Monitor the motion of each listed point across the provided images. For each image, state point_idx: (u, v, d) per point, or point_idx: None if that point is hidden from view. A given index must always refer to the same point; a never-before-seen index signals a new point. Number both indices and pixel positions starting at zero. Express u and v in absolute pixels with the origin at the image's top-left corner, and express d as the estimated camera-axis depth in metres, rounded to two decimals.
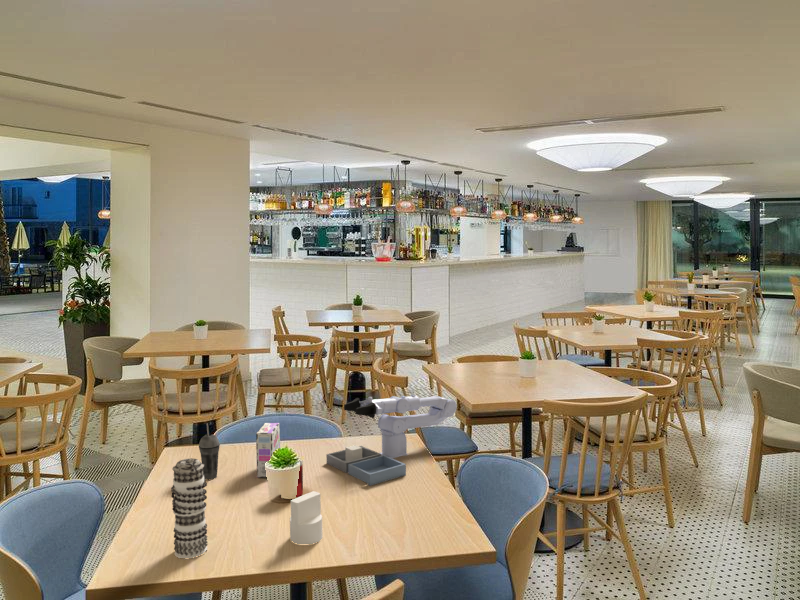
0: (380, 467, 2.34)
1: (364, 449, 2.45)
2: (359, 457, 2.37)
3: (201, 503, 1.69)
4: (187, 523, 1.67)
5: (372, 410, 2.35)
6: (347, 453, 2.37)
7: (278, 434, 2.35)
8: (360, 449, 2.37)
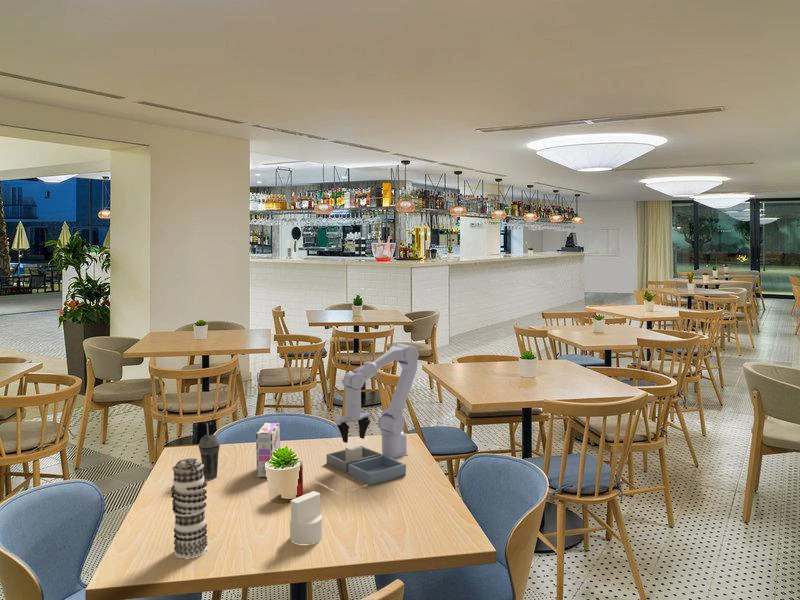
0: (380, 467, 2.34)
1: (364, 449, 2.45)
2: (359, 457, 2.37)
3: (201, 503, 1.69)
4: (187, 523, 1.67)
5: None
6: (347, 453, 2.37)
7: (278, 434, 2.35)
8: (360, 449, 2.37)
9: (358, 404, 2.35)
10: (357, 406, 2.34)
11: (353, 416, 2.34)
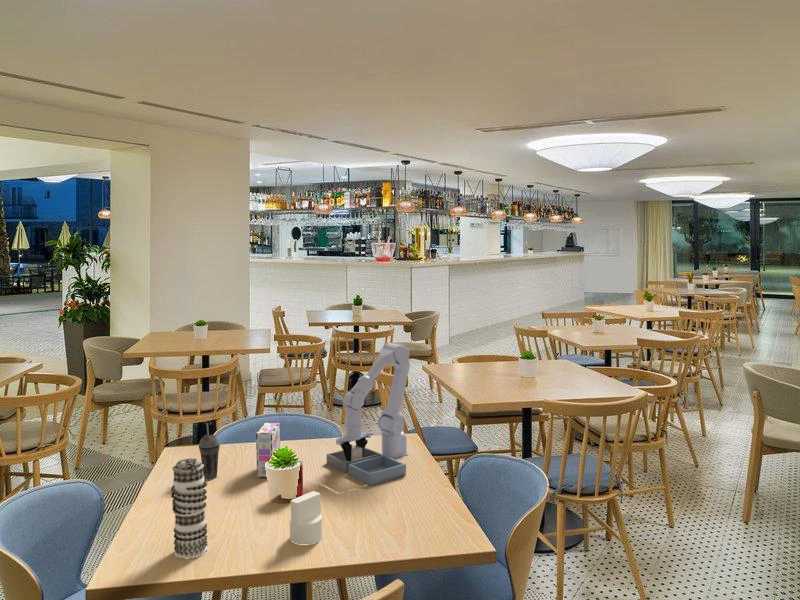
0: (380, 467, 2.34)
1: (364, 449, 2.45)
2: (359, 457, 2.37)
3: (201, 503, 1.69)
4: (187, 523, 1.67)
5: None
6: None
7: (278, 434, 2.35)
8: (360, 449, 2.37)
9: (358, 424, 2.35)
10: (357, 426, 2.35)
11: (353, 436, 2.35)
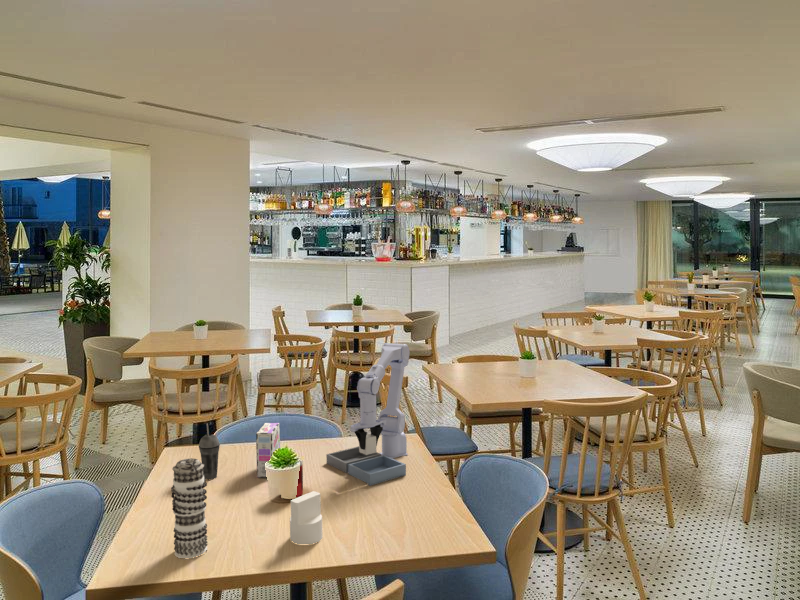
0: (380, 467, 2.34)
1: None
2: (373, 446, 2.30)
3: (201, 503, 1.69)
4: (187, 523, 1.67)
5: None
6: None
7: (278, 434, 2.35)
8: (374, 437, 2.30)
9: (375, 409, 2.29)
10: (372, 412, 2.27)
11: (368, 423, 2.27)
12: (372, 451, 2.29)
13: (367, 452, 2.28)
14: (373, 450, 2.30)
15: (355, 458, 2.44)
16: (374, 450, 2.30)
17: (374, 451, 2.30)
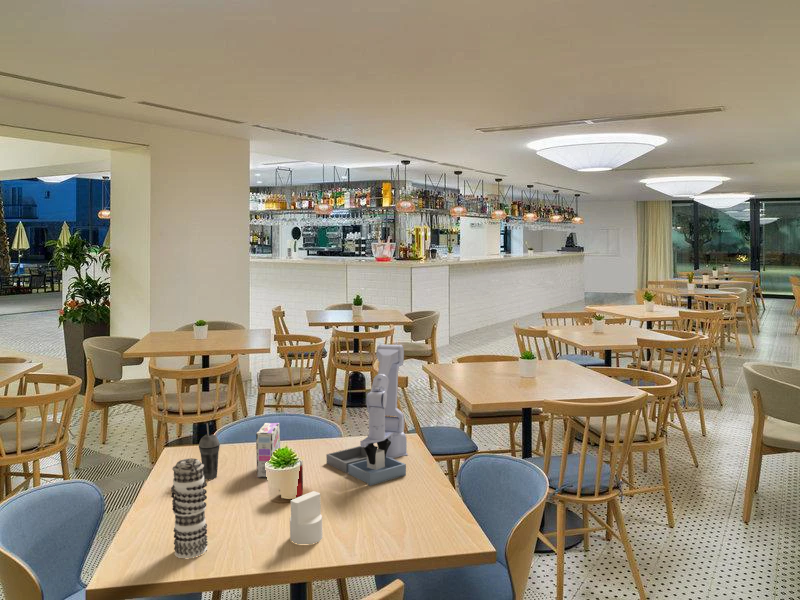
0: None
1: (364, 449, 2.45)
2: (382, 460, 2.27)
3: (201, 503, 1.69)
4: (187, 523, 1.67)
5: None
6: None
7: (278, 434, 2.35)
8: (382, 452, 2.27)
9: (384, 423, 2.26)
10: (382, 426, 2.24)
11: (378, 437, 2.23)
12: (381, 466, 2.26)
13: (377, 467, 2.25)
14: (382, 464, 2.27)
15: (355, 458, 2.44)
16: (383, 464, 2.27)
17: (383, 465, 2.27)
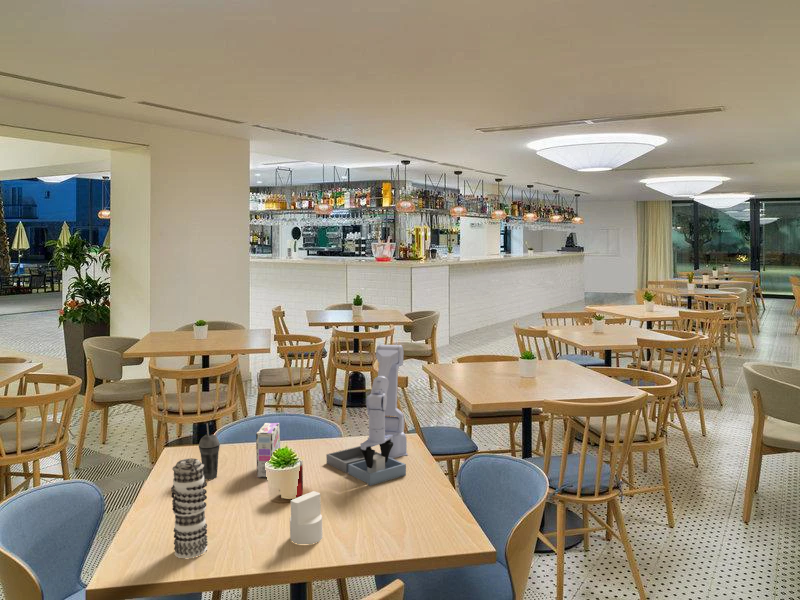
0: None
1: None
2: (382, 467, 2.27)
3: (201, 503, 1.69)
4: (187, 523, 1.67)
5: None
6: None
7: (278, 434, 2.35)
8: (383, 458, 2.27)
9: (384, 426, 2.26)
10: (382, 429, 2.24)
11: (378, 440, 2.23)
12: None
13: None
14: None
15: (355, 458, 2.44)
16: None
17: None
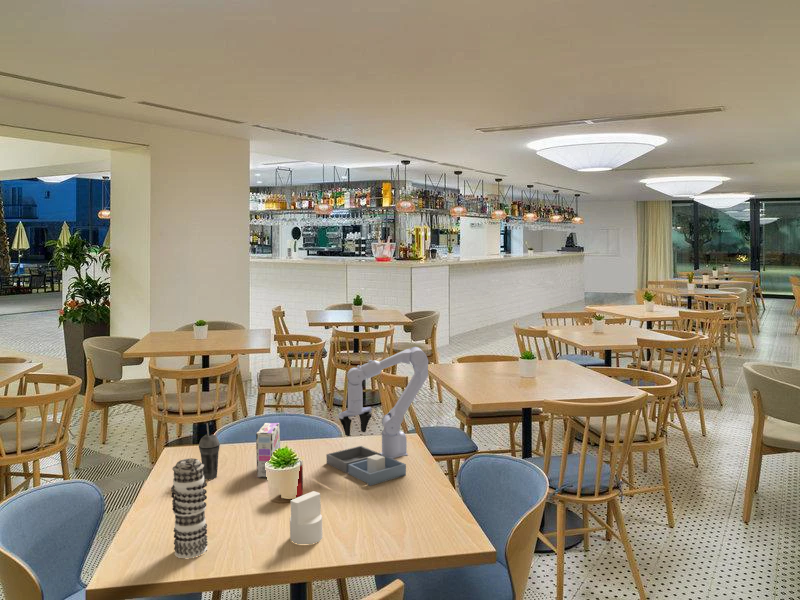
0: None
1: (364, 449, 2.45)
2: (382, 467, 2.27)
3: (201, 503, 1.69)
4: (187, 523, 1.67)
5: None
6: (370, 463, 2.26)
7: (278, 434, 2.35)
8: (383, 458, 2.27)
9: (357, 399, 2.42)
10: (359, 401, 2.43)
11: (355, 410, 2.42)
12: None
13: None
14: None
15: (355, 458, 2.44)
16: None
17: None
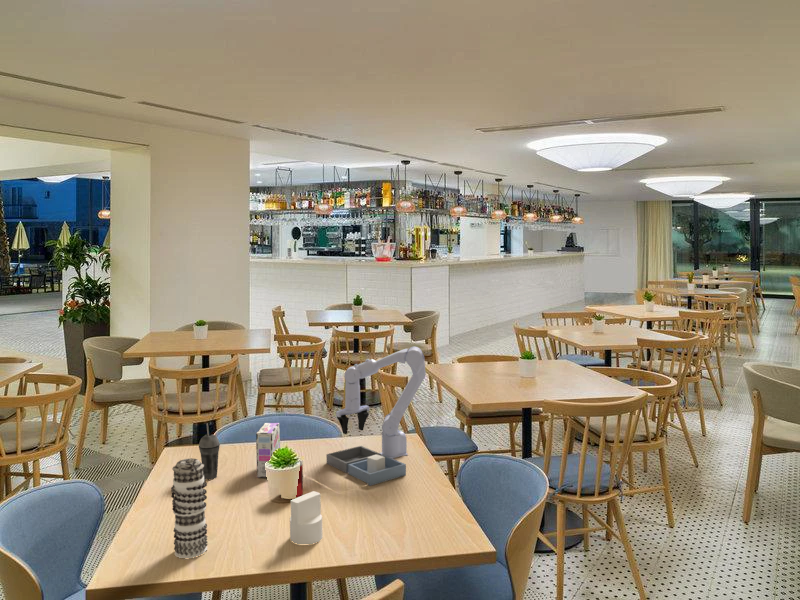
0: None
1: (364, 449, 2.45)
2: (382, 467, 2.27)
3: (201, 503, 1.69)
4: (187, 523, 1.67)
5: None
6: (370, 463, 2.26)
7: (278, 434, 2.35)
8: (383, 458, 2.27)
9: (353, 398, 2.45)
10: (356, 399, 2.45)
11: (352, 409, 2.45)
12: None
13: None
14: None
15: (355, 458, 2.44)
16: None
17: None
